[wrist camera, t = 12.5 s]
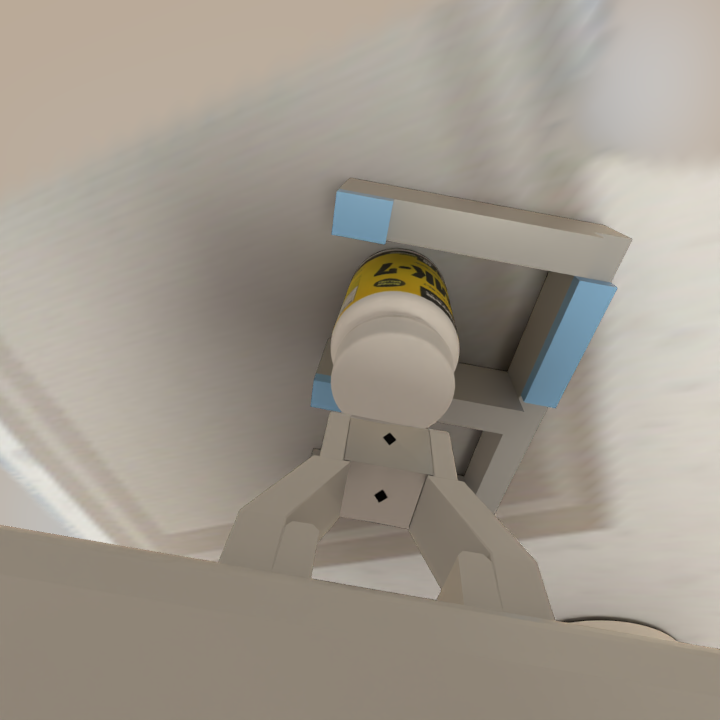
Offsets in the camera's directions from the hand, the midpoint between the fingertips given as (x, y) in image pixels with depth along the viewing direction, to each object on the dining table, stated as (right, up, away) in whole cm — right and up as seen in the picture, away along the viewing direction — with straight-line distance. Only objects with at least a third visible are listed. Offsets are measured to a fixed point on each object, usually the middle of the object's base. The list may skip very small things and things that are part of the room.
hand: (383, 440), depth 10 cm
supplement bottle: (+1, +5, +10) cm, 11 cm away
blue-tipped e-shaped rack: (+3, +2, +12) cm, 12 cm away
